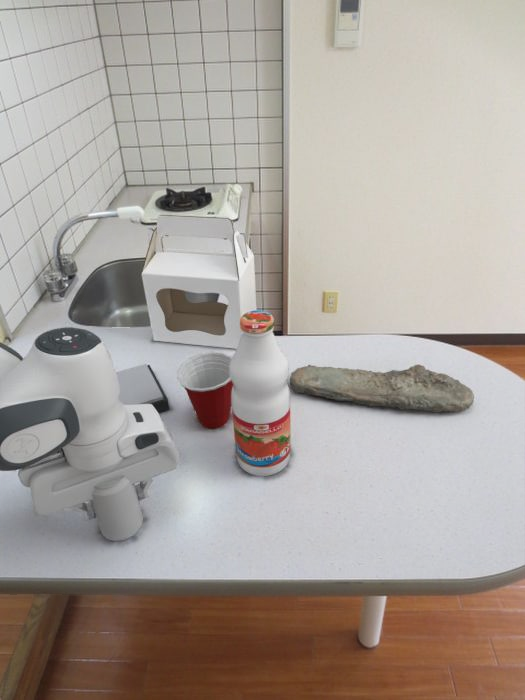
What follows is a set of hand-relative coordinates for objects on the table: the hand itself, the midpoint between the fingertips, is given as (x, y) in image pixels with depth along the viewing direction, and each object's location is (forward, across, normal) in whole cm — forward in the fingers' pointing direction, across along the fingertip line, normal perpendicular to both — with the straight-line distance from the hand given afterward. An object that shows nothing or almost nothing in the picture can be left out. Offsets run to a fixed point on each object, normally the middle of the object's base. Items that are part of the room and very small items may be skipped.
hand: (117, 505), depth 77 cm
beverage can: (+5, 0, 0) cm, 5 cm away
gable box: (+5, +31, +46) cm, 56 cm away
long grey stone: (+5, +52, +7) cm, 53 cm away
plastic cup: (+5, +21, +16) cm, 27 cm away
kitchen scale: (+5, +6, +29) cm, 30 cm away
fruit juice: (+5, +25, +3) cm, 26 cm away
